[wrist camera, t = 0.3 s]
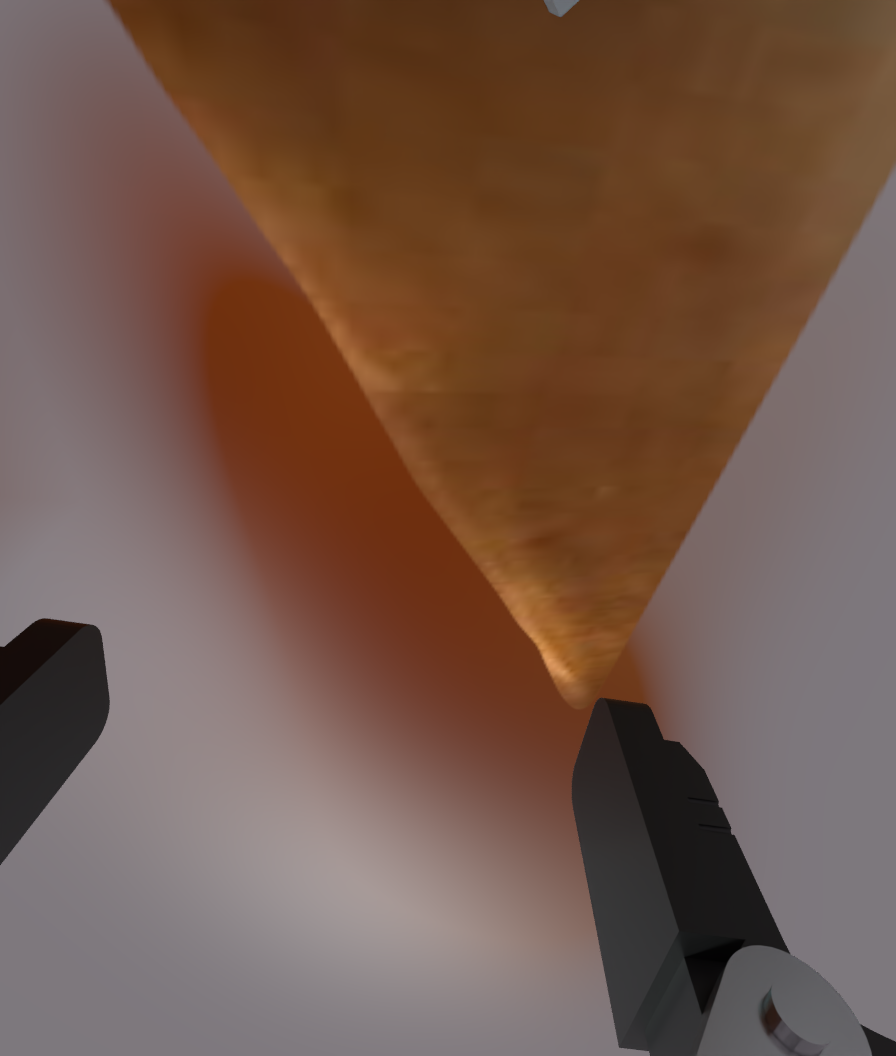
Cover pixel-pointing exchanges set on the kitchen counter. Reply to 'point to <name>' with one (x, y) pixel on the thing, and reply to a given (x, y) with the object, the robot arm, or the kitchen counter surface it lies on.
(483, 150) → the kitchen counter surface
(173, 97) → the kitchen counter surface
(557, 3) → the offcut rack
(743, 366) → the kitchen counter surface
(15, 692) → the robot arm
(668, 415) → the kitchen counter surface
